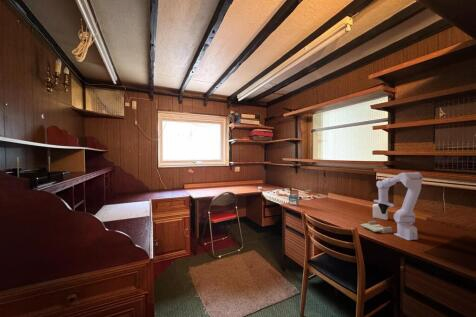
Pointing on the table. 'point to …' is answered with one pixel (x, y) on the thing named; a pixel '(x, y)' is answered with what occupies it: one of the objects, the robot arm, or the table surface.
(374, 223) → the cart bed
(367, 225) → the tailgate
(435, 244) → the table surface
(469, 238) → the table surface
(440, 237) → the table surface
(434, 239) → the table surface
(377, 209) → the photo printer
